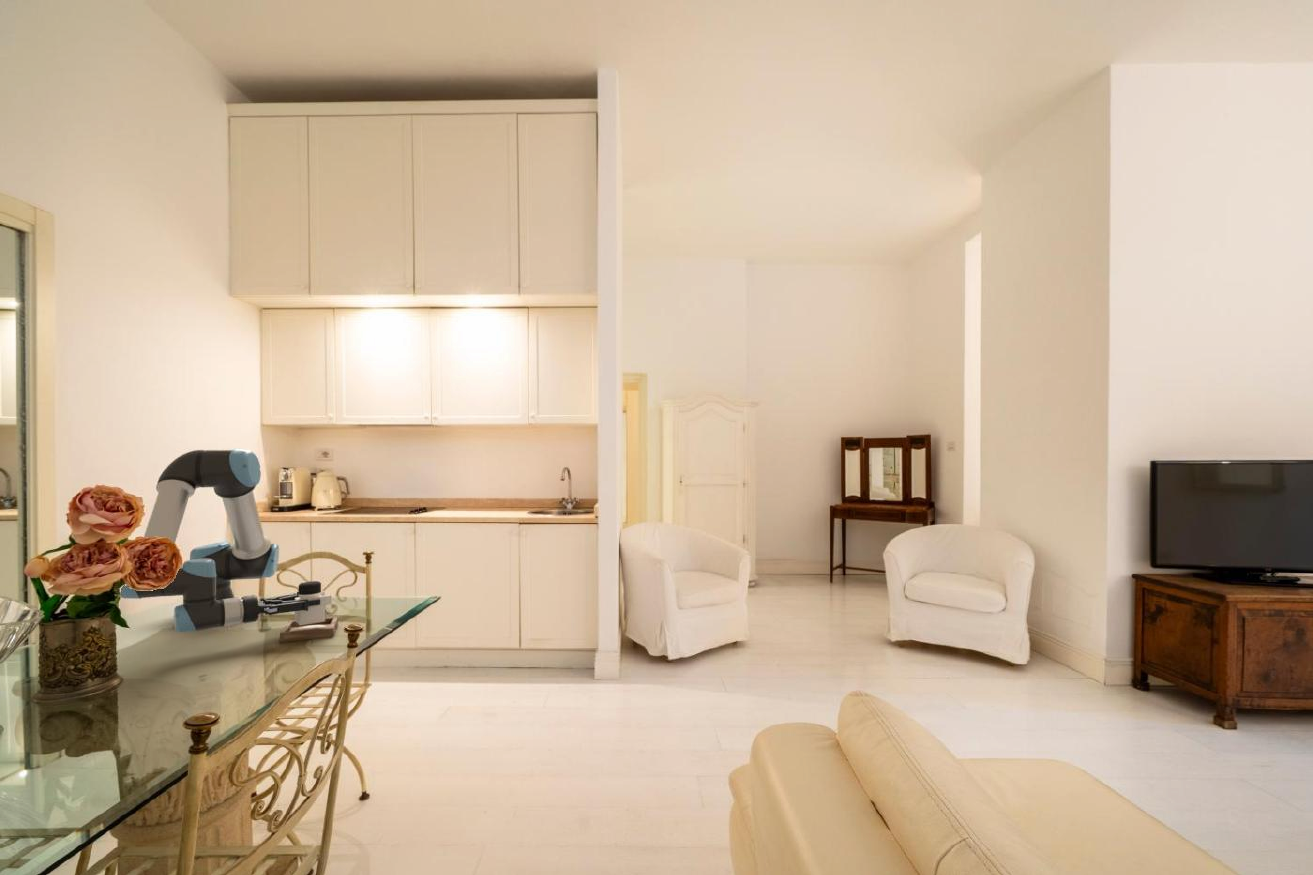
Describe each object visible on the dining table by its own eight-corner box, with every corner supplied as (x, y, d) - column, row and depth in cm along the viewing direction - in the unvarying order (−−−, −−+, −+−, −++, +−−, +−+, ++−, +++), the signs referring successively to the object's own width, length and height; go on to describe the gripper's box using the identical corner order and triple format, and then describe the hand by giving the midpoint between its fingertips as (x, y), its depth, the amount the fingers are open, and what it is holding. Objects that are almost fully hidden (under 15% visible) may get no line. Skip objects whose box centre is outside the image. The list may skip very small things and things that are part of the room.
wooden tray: (288, 629, 204) (288, 621, 204) (338, 624, 209) (338, 616, 209) (280, 642, 191) (279, 633, 191) (333, 636, 196) (333, 628, 196)
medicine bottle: (325, 621, 200) (325, 582, 200) (299, 626, 195) (299, 585, 195) (319, 617, 205) (319, 578, 205) (294, 621, 200) (294, 581, 200)
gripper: (235, 616, 196) (319, 603, 211) (247, 630, 181) (336, 615, 196) (235, 591, 196) (319, 580, 211) (247, 603, 181) (336, 590, 196)
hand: (327, 597), depth 203 cm, fingers closed on medicine bottle, 7 cm apart
